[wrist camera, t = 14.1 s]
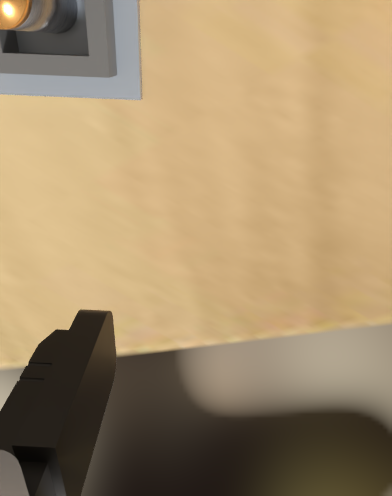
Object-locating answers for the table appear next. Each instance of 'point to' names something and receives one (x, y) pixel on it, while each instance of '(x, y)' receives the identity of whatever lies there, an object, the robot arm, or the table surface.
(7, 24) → the cylinder
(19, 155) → the table surface
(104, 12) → the socket
